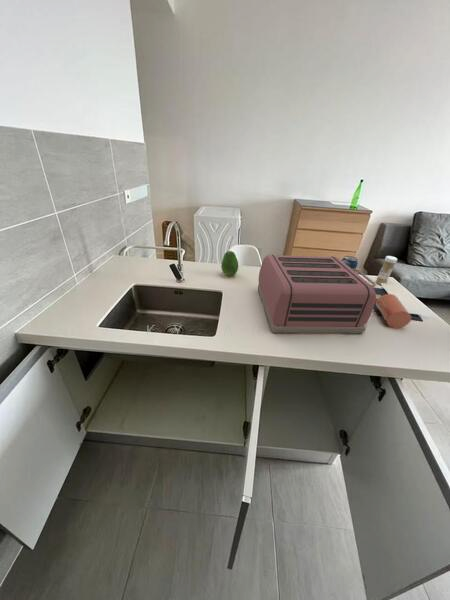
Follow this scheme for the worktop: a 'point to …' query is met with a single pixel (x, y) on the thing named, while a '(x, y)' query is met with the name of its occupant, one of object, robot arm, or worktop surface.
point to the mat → (382, 292)
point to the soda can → (350, 261)
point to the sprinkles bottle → (386, 269)
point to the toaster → (314, 295)
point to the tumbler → (393, 311)
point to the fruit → (229, 263)
